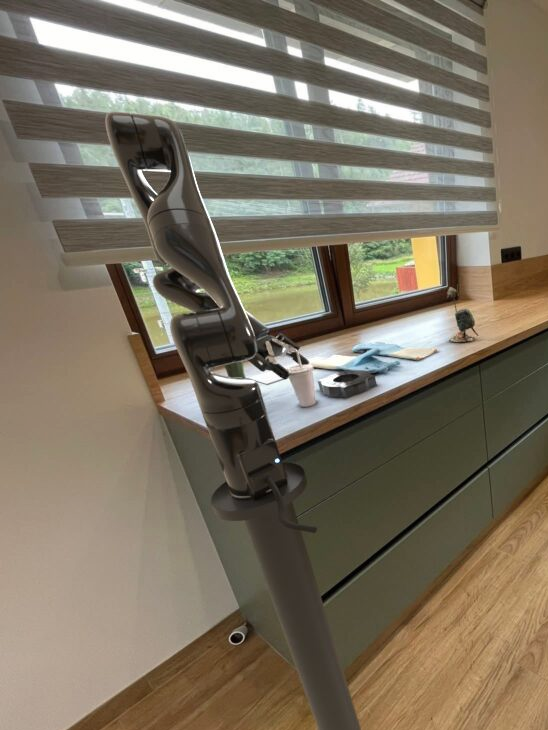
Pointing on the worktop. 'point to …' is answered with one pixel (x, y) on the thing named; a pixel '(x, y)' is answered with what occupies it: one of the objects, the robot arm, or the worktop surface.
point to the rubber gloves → (368, 361)
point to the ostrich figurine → (462, 321)
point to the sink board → (347, 383)
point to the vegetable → (235, 370)
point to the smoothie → (303, 383)
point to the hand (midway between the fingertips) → (298, 370)
